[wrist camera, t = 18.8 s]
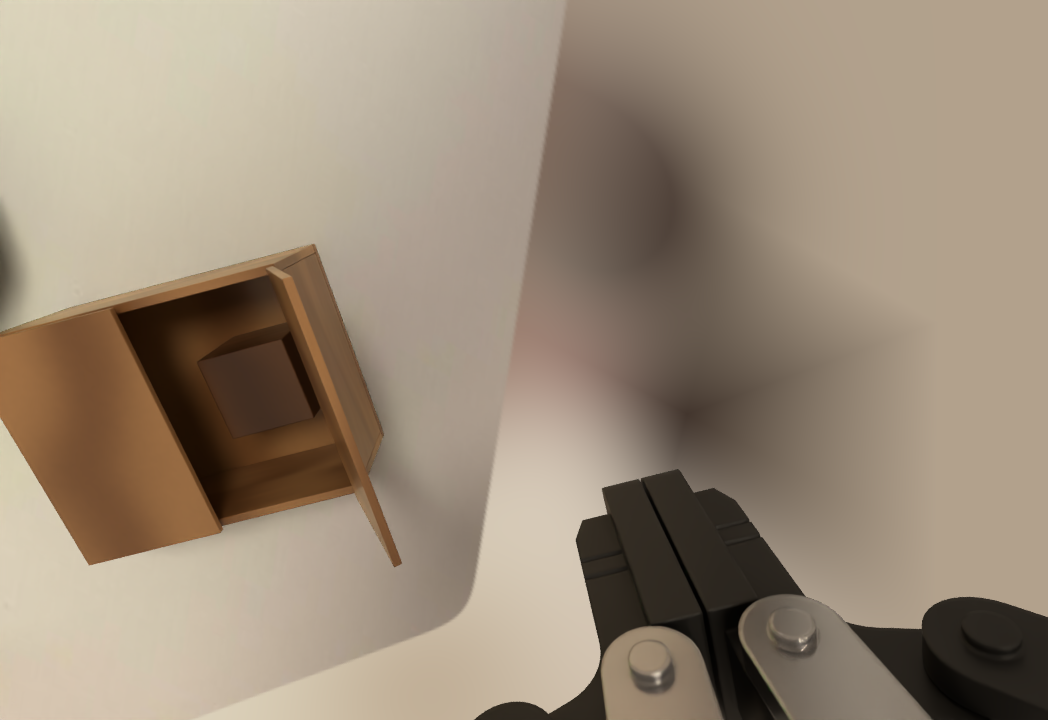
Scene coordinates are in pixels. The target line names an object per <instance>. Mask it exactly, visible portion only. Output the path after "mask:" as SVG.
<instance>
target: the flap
mask: <svg viewBox="0 0 1048 720" xmlns="http://www.w3.org/2000/svg"><path fill="white" fill-rule="evenodd" d="M266 271H267V274H268V276H269V279H270V281H271V284H272V286H273V289H274V291H275V294H276V296H277V299H278V301H279V304H280V306H281V309H282V312H283V314H284V317H285V319H286V322H287V324H288V327H289V329H290V332H291V334H292V337H293V339H294V342H295V344H296V347H297V349H298V352H299V354H300V357H301V359H302V362H303V364H304V367H305V369H306V372H307V374H308V377H309V379H310V382H311V384H312V387H313V390H314V392H315V395H316V397H317V400H318V402H319V405H320V407H321V410H322V412H323V415H324V417H325V420H326V422H327V425H328V427H329V430H330V432H331V435H332V437H333V440H334V442H335V445H336V447H337V450H338V452H339V455H340V457H341V460H342V463H343V465H344V468H345V470H346V473H347V475H348V478H349V480H350V483H351V485H352V488H353V490H354V493H355V495H356V498H357V500H358V502H359V503H360V505H361V507H362V509H363V511H364V513H365V514H366V516H367V518H368V520H369V522H370V524H371V525H372V527H373V529H374V531H375V533H376V535H377V536H378V538H379V540H380V542H381V544H382V546H383V547H384V549H385V551H386V553H387V555H388V557H389V558H390V560H391V562H392V564H393V566H394V567H396V566H398V565H400V564H402V562H401V559H400V557H399V554H398V551H397V549H396V546H395V544H394V541H393V538H392V536H391V533H390V530H389V528H388V525H387V523H386V520H385V517H384V515H383V512H382V510H381V507H380V504H379V502H378V499H377V497H376V494H375V491H374V489H373V486H372V484H371V481H370V478H369V476H368V473H367V471H366V468H365V465H364V463H363V460H362V458H361V455H360V452H359V450H358V447H357V445H356V442H355V439H354V437H353V434H352V432H351V429H350V426H349V424H348V421H347V418H346V416H345V413H344V411H343V408H342V405H341V403H340V400H339V398H338V395H337V392H336V390H335V387H334V385H333V382H332V379H331V377H330V374H329V372H328V369H327V366H326V364H325V361H324V359H323V356H322V353H321V351H320V348H319V346H318V343H317V340H316V338H315V335H314V333H313V330H312V327H311V325H310V322H309V320H308V317H307V314H306V312H305V309H304V306H303V304H302V301H301V299H300V296H299V293H298V291H297V288H296V286H295V283H294V280H293V278H292V276H290V275H288V274H286V273H284V272H283V271H281V270H279V269H277V268H275V267H273V266H271V267H268V268H266Z"/></svg>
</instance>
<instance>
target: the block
mask: <svg viewBox="0 0 1048 720" xmlns="http://www.w3.org/2000/svg"><path fill="white" fill-rule="evenodd" d="M197 365H198V367H199V369H200V371H201V373H202V375H203V377H204V379H205V381H206V383H207V386H208V388H209V390H210V392H211V394H212V396H213V398H214V400H215V402H216V405H217V407H218V409H219V411H220V413H221V415H222V417H223V419H224V421H225V423H226V426H227V428H228V430H229V432H230V434H231V436H232V438H233V439H237V438H240V437H244V436H248V435H252V434H255V433H259V432H263V431H267V430H271V429H274V428H278V427H282V426H286V425H289V424H293V423H297V422H301V421H304V420H308V419H312V418H314V417H315V416H316V414H317V413H318V411H319V410H320V408H321V407H320V405H319V402H318V400H317V397H316V395H315V392H314V390H313V387H312V385H311V382H310V380H309V377H308V374H307V372H306V369H305V367H304V364H303V362H302V359H301V357H300V354H299V352H298V349H297V347H296V344H295V342H294V339H293V337H292V334H291V332H290V329H289V327H288V324H287V322H285V323H281V324H278V325H274V326H270V327H267V328H263V329H259V330H256V331H252V332H248V333H245V334H241V335H237V336H234V337H232V338H231V339H229V340H228V341H226V342H225V343H223V344H222V345H220V346H219V347H217V348H216V349H215V350H213V351H212V352H210V353H209V354H207V355H206V356H204V357H203V358H202V359H200V360H199V361H197Z"/></svg>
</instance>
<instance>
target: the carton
mask: <svg viewBox="0 0 1048 720" xmlns="http://www.w3.org/2000/svg"><path fill="white" fill-rule="evenodd" d="M271 266H273V267H275V268H277V269H279V270H281V271H283V272H284V273H286V274H288V275H290V276H292V278H293V280H294V283H295V286H296V288H297V291H298V293H299V296H300V299H301V301H302V304H303V306H304V309H305V312H306V314H307V317H308V320H309V322H310V325H311V327H312V330H313V333H314V335H315V338H316V340H317V343H318V346H319V348H320V351H321V353H322V356H323V359H324V361H325V364H326V366H327V369H328V372H329V374H330V377H331V379H332V382H333V385H334V387H335V390H336V392H337V395H338V398H339V400H340V403H341V405H342V408H343V411H344V413H345V416H346V418H347V421H348V424H349V426H350V429H351V432H352V434H353V437H354V439H355V442H356V445H357V447H358V450H359V452H360V455H361V458H362V460H363V463H364V465H365V468H366V471H367V473H368V475H369V472H370V469H371V467H372V464H373V462H374V459H375V456H376V454H377V451H378V449H379V446H380V443H381V441H382V438H383V436H384V433H383V430H382V428H381V425H380V422H379V419H378V417H377V414H376V411H375V408H374V406H373V403H372V400H371V397H370V395H369V392H368V389H367V386H366V384H365V381H364V378H363V375H362V373H361V370H360V367H359V364H358V362H357V359H356V356H355V353H354V351H353V348H352V345H351V342H350V340H349V337H348V334H347V331H346V329H345V326H344V323H343V320H342V318H341V315H340V312H339V309H338V307H337V304H336V301H335V298H334V296H333V293H332V290H331V288H330V285H329V282H328V279H327V277H326V274H325V271H324V268H323V266H322V263H321V260H320V257H319V255H318V252H317V249H316V246H315V244H311V245H307V246H304V247H300V248H296V249H292V250H288V251H284V252H281V253H277V254H273V255H269V256H265V257H261V258H258V259H254V260H250V261H246V262H242V263H239V264H235V265H231V266H227V267H223V268H219V269H216V270H212V271H208V272H204V273H200V274H196V275H193V276H189V277H185V278H181V279H177V280H173V281H170V282H166V283H162V284H158V285H154V286H151V287H147V288H143V289H139V290H135V291H131V292H128V293H124V294H120V295H116V296H112V297H108V298H105V299H101V300H97V301H93V302H89V303H86V304H82V305H78V306H74V307H70V308H67V309H64V310H61V311H59V312H56V313H53V314H50V315H47V316H44V317H42V318H39V319H36V320H33V321H30V322H27V323H24V324H22V325H19V326H16V327H13V328H10V329H7V330H5V331H2V332H0V418H1V419H2V421H3V423H4V424H5V426H6V428H7V429H8V431H9V433H10V434H11V436H12V438H13V439H14V441H15V443H16V444H17V446H18V448H19V449H20V451H21V453H22V454H23V456H24V458H25V459H26V461H27V463H28V464H29V466H30V468H31V469H32V471H33V473H34V474H35V476H36V478H37V479H38V481H39V483H40V484H41V486H42V488H43V489H44V491H45V493H46V494H47V496H48V498H49V499H50V501H51V503H52V504H53V506H54V508H55V509H56V511H57V513H58V514H59V516H60V518H61V519H62V521H63V523H64V524H65V526H66V528H67V529H68V531H69V533H70V534H71V536H72V538H73V539H74V541H75V543H76V544H77V546H78V548H79V549H80V551H81V553H82V554H83V556H84V558H85V559H86V561H87V563H88V564H89V565H93V564H97V563H101V562H105V561H109V560H113V559H117V558H121V557H125V556H129V555H133V554H137V553H141V552H145V551H149V550H153V549H157V548H161V547H165V546H169V545H173V544H177V543H181V542H185V541H189V540H193V539H197V538H201V537H206V536H210V535H214V534H218V533H221V531H222V530H223V528H222V526H223V525H227V524H231V523H235V522H239V521H243V520H247V519H251V518H255V517H259V516H263V515H267V514H271V513H275V512H279V511H283V510H287V509H291V508H296V507H300V506H304V505H308V504H312V503H316V502H320V501H324V500H328V499H332V498H336V497H340V496H344V495H348V494H352V493H354V490H353V488H352V485H351V483H350V480H349V478H348V475H347V473H346V470H345V468H344V465H343V463H342V460H341V457H340V455H339V452H338V450H337V447H336V445H335V442H334V440H333V437H332V435H331V432H330V430H329V427H328V425H327V422H326V420H325V417H324V415H323V412H322V410H321V408H320V410H319V411H318V413H317V414H316V416H315V417H314V418H312V419H308V420H304V421H301V422H297V423H293V424H289V425H286V426H282V427H278V428H274V429H271V430H267V431H263V432H259V433H255V434H252V435H248V436H244V437H240V438H237V439H233V438H232V436H231V434H230V432H229V430H228V428H227V426H226V423H225V421H224V419H223V417H222V415H221V413H220V411H219V409H218V407H217V405H216V402H215V400H214V398H213V396H212V394H211V392H210V390H209V388H208V386H207V383H206V381H205V379H204V377H203V375H202V373H201V371H200V369H199V367H198V365H197V361H199V360H200V359H202V358H203V357H204V356H206V355H207V354H209V353H210V352H212V351H213V350H215V349H216V348H217V347H219V346H220V345H222V344H223V343H225V342H226V341H228V340H229V339H231V338H232V337H234V336H237V335H241V334H245V333H248V332H252V331H256V330H259V329H263V328H267V327H270V326H274V325H278V324H281V323H285V322H286V319H285V317H284V314H283V312H282V309H281V306H280V304H279V301H278V299H277V296H276V294H275V291H274V289H273V286H272V284H271V281H270V279H269V276H268V274H267V271H266V268H268V267H271ZM309 380H310V379H309ZM311 385H312V384H311Z"/></svg>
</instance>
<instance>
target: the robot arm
mask: <svg viewBox="0 0 1048 720" xmlns="http://www.w3.org/2000/svg"><path fill="white" fill-rule="evenodd" d="M602 492H603V497H604V501H605V505H606V509H607V515H603V516H598V517H594V518H590V519H586V520H583V521H582V523H581V526H580V529H579V532H578V535H577V538H576V544H577V548H578V552H579V556H580V561H581V565H582V569H583V574H584V578H585V583H586V587H587V591H588V596H589V600H590V604H591V609H592V613H593V617H594V621H595V626H596V630H597V635H598V638H599V643H600V650H601V656H600V663H599V667H598V670H597V672H596V674H595V676H594V678H593V679H592V681H591V683H590V684H589V685H588V686H587V687H586V689H585V690H584V691H583V692H581V694H579V695H578V696H577V697H575V698H574V699H573V700H571V701H570V702H568V703H566V704H565V705H563V706H561V707H560V708H558V709H557V710H555V711H553V712H551V713H549V714H548V713H547V712H545V711H544V710H543V709H541V708H539V707H538V706H536V705H533V704H530V703H526V702H509V703H504V704H500V705H497V706H495V707H492V708H491V709H489V710H487V711H485V712H484V713H482V714H481V715H479V716H478V717H477V718H476V719H475V720H1048V617H1045V616H1042V615H1039V614H1036V613H1033V612H1030V611H1027V610H1024V609H1021V608H1018V607H1015V606H1012V605H1009V604H1006V603H1002V602H999V601H995V600H990V599H984V598H975V597H958V598H951V599H947V600H944V601H941V602H939V603H937V604H935V605H933V606H932V607H931V608H929V609H928V611H927V612H926V613H925V615H924V617H923V620H922V629H901V628H874V627H865V626H859V625H854V624H850V623H847V622H845V621H844V620H843V619H842V618H841V617H840V616H839V615H838V614H837V613H836V612H835V611H834V610H832V609H831V608H830V607H828V606H827V605H825V604H823V603H821V602H819V601H817V600H814V599H811V598H808V597H806V596H805V595H804V594H803V593H802V591H801V590H800V588H799V587H798V586H797V584H796V583H795V582H794V580H793V579H792V577H791V576H790V575H789V573H788V572H787V571H786V569H785V568H784V567H783V565H782V564H781V562H780V561H779V560H778V558H777V557H776V556H775V554H774V553H773V551H772V550H771V549H770V547H769V546H768V544H767V543H766V542H765V540H764V539H763V538H762V537H760V534H759V532H758V531H757V529H756V528H755V527H754V525H753V524H752V522H749V519H748V517H747V516H746V514H745V513H744V511H743V510H742V509H741V507H740V506H739V505H738V503H737V502H736V501H735V500H734V499H732V498H730V497H728V496H727V495H725V494H723V493H721V492H719V491H718V490H716V489H714V488H712V489H708V490H703V491H699V492H695V493H693V491H692V490H691V488H690V486H689V485H688V483H687V481H686V480H685V478H684V477H683V475H682V473H681V472H680V471H679V470H678V469H677V470H673V471H668V472H664V473H660V474H656V475H652V476H648V477H645V478H641V482H640V481H639V480H638V479H637V480H633V481H629V482H624V483H620V484H616V485H613V486H608V487H604V488H602Z"/></svg>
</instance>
